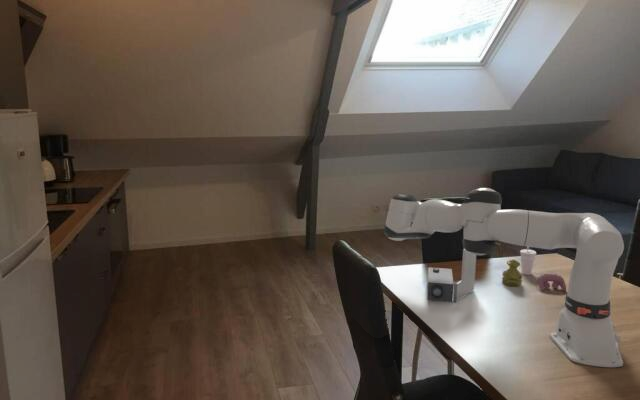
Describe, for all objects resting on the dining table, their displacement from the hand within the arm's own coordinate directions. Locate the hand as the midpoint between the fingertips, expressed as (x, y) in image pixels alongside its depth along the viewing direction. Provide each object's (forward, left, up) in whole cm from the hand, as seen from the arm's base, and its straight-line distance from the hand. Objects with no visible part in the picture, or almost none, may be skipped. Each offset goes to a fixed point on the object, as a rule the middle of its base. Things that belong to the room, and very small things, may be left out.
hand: (462, 220), depth 186 cm
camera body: (-5, +7, -28) cm, 29 cm away
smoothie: (+24, -29, -28) cm, 47 cm away
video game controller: (+8, -36, -28) cm, 46 cm away
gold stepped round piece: (+10, -21, -28) cm, 37 cm away
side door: (-6, -2, -27) cm, 28 cm away
